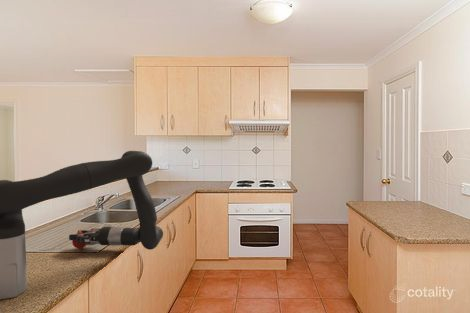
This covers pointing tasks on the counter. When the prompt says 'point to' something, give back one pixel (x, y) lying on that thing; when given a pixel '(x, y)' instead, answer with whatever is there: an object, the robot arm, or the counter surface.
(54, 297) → the counter surface
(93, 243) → the grey round tray
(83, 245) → the onion
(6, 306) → the counter surface
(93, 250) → the counter surface
